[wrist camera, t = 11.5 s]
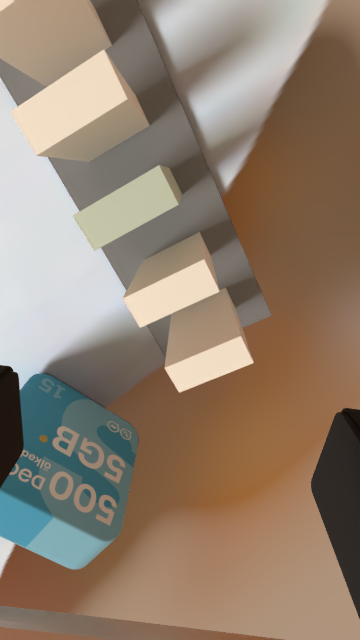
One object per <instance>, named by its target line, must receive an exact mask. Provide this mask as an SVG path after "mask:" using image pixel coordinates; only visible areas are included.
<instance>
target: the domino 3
mask: <svg viewBox="0 0 360 640" xmlns="http://www.w3.org/2000/svg"><path fill="white" fill-rule="evenodd" d="M181 197H182V193H181V191H180V188H179V186H178V184H177V182H176V180H175V178H174V176H173V174H172V172H171V170H170V168H168V167H164V166H160V165H158V166H157V167H155V168H153V169H152V170H150V171H148V172H146V173H145V174H143V175H141V176H140V177H138V178H136V179H134V180H133V181H131V182H129V183H128V184H126V185H124V186H123V187H121V188H119V189H117V190H116V191H114V192H112V193H111V194H109V195H107V196H105V197H104V198H102V199H100V200H99V201H97V202H95V203H93V204H92V205H90V206H88V207H87V208H85V209H83V210H81V211H80V212H78V213H76V214H75V215H73V217H74V219H75V220H76V222H77V224H78V225H79V227H80V228H81V230H82V232H83V233H84V235H85V236H86V238H87V240H88V241H89V243H90V245H91V246H92V248H93V249H94V251H95V250H97V249H99V248H100V247H102V246H104V245H106V244H108V243H110V242H111V241H113V240H115V239H117V238H119V237H121V236H122V235H124V234H126V233H128V232H130V231H131V230H133V229H135V228H137V227H139V226H141V225H142V224H144V223H146V222H148V221H150V220H152V219H153V218H155V217H157V216H159V215H161V214H163V213H164V212H166V211H168V210H170V209H172V208H173V207H175V206H177V205H179V202H180V200H181Z"/></svg>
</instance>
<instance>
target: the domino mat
mask: <svg viewBox="0 0 360 640" xmlns="http://www.w3.org/2000/svg"><path fill="white" fill-rule="evenodd" d="M90 1H91V3H92V4H93V6H94V8H95V10H96V12H97V14H98V16H99V18H100V20H101V23H102V25H103V27H104V29H105V31H106V33H107V35H108V38H109V40H110V42H111V44H112V46H111V47H109V48H108V49H106V50H105V52H106V53H107V55H108V56H109V57H110V59H111V60H112V62H113V63H114V65H115V66H116V68H117V69H118V70H119V72H120V73H121V75H122V76H123V78H124V79H125V81H126V82H127V84H128V85H129V86H130V88H131V89H132V91H133V92H134V94H135V95H136V97H137V99H138V102H139V104H140V106H141V108H142V110H143V112H144V114H145V116H146V119H147V121H148V123H149V125H150V126H149V127H147V128H145V129H144V130H142V131H140V132H138V133H137V134H135V135H133V136H132V137H130V138H128V139H127V140H125V141H123V142H122V143H120V144H118V145H117V146H115V147H113V148H112V149H110V150H108V151H106V152H105V153H103V154H101V155H100V156H98V157H96V158H95V159H93V160H91V161H90V162H86V161H78V160H69V159H61V158H53V157H48V158H49V160H50V162H51V163H52V165H53V167H54V169H55V170H56V172H57V174H58V175H59V177H60V179H61V180H62V182H63V184H64V186H65V187H66V189H67V191H68V192H69V194H70V196H71V197H72V199H73V201H74V202H75V204H76V206H77V208H78V209H79V211H81V210H83V209H85V208H87V207H88V206H90V205H92V204H93V203H95V202H97V201H99V200H100V199H102V198H104V197H105V196H107V195H109V194H111V193H112V192H114V191H116V190H117V189H119V188H121V187H123V186H124V185H126V184H128V183H129V182H131V181H133V180H134V179H136V178H138V177H140V176H141V175H143V174H145V173H146V172H148V171H150V170H152V169H153V168H155V167H157V166H158V165H160V166H164V167H168V168H170V170H171V172H172V174H173V176H174V178H175V180H176V182H177V184H178V186H179V188H180V191H181V193H182V197H181V200H180V202H179V205H177V206H175V207H173V208H172V209H170V210H168V211H166V212H164V213H163V214H161V215H159V216H157V217H155V218H153V219H152V220H150V221H148V222H146V223H144V224H142V225H141V226H139V227H137V228H135V229H133V230H131V231H130V232H128V233H126V234H124V235H122V236H121V237H119V238H117V239H115V240H113V241H111V242H110V243H108V244H106V245H104V246H102V247H101V248H102V250H103V252H104V253H105V255H106V257H107V258H108V260H109V262H110V263H111V265H112V267H113V269H114V270H115V272H116V274H117V275H118V277H119V279H120V280H121V282H122V284H123V285H124V287H125V289H126V291H127V289H128V288H129V286H130V284H131V282H132V280H133V278H134V276H135V275H136V273H137V271H138V269H139V267H140V265H141V263H142V262H143V260H145V259H147V258H149V257H151V256H153V255H155V254H157V253H159V252H161V251H163V250H165V249H167V248H169V247H171V246H173V245H175V244H177V243H179V242H181V241H183V240H185V239H187V238H188V237H190V236H192V235H194V234H196V233H198V232H200V234H201V236H202V238H203V240H204V242H205V245H206V247H207V249H208V251H209V253H210V255H211V259H212V263H213V267H214V271H215V275H216V279H217V283H218V287H219V290H221V289H223V288H225V287H226V289H227V292H228V294H229V296H230V298H231V300H232V302H233V304H234V306H235V309H236V312H237V315H238V318H239V321H240V324H241V327H242V328H243V327H245V326H248V325H250V324H252V323H255V322H257V321H259V320H262V319H264V318H266V317H269V316H271V313H270V311H269V308H268V306H267V304H266V301H265V299H264V297H263V294H262V292H261V290H260V287H259V285H258V283H257V280H256V278H255V276H254V273H253V271H252V269H251V266H250V264H249V262H248V259H247V257H246V254H245V252H244V250H243V248H242V245H241V243H240V240H239V238H238V236H237V233H236V231H235V229H234V227H233V224H232V222H231V219H230V217H229V215H228V212H227V210H226V208H225V205H224V203H223V201H222V198H221V196H220V194H219V191H218V189H217V187H216V184H215V182H214V180H213V177H212V175H211V173H210V170H209V168H208V166H207V163H206V161H205V159H204V156H203V154H202V151H201V149H200V147H199V144H198V142H197V140H196V137H195V135H194V133H193V130H192V128H191V126H190V123H189V121H188V119H187V116H186V114H185V112H184V109H183V107H182V105H181V102H180V100H179V98H178V95H177V93H176V91H175V88H174V86H173V84H172V81H171V79H170V77H169V74H168V72H167V70H166V67H165V65H164V63H163V60H162V58H161V56H160V53H159V51H158V49H157V46H156V44H155V42H154V39H153V37H152V34H151V32H150V30H149V27H148V25H147V23H146V20H145V18H144V16H143V13H142V11H141V9H140V6H139V4H138V2H137V0H90ZM0 77H1V79H2V81H3V82H4V84H5V86H6V87H7V89H8V91H9V92H10V94H11V96H12V97H13V99H14V101H15V103H16V104H17V106H19V105H21V104H22V103H24V102H25V101H27V100H28V99H30V98H31V97H33V96H34V95H36V94H37V93H39V92H40V91H42V90H43V89H45V88H46V86H44V85H43V84H41V83H40V82H38V81H36V80H35V79H33V78H31V77H30V76H28V75H26V74H25V73H23V72H21V71H20V70H18V69H16V68H15V67H13V66H12V65H10V64H8V63H7V62H5V61H3V60H2V59H0ZM170 321H171V314H170V315H167V316H165V317H163V318H161V319H159V320H156V321H154V322H152V323H150V324H148V325H147V326H148V328H149V329H150V331H151V333H152V335H153V336H154V338H155V340H156V341H157V343H158V345H159V346H160V348H161V350H162V351H163V353H164V355H165V357H166V352H167V344H168V337H169V329H170Z"/></svg>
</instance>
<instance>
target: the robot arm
mask: <svg viewBox="0 0 360 640" xmlns="http://www.w3.org/2000/svg"><path fill="white" fill-rule="evenodd" d="M23 447H24V439H23V427H22V415H21V402H20V390H19V378H18V374H17V373H16V372H13V369H12V368H11V367H10V366H2V365H0V488H1V486H2V485H3V483H4V482H5V480H6V478H7V477H8V475H9V474H10V472H11V471H12V469H13V467H14V466H15V464H16V463H17V461H18V460H19V458H20V456H21V454H22V451H23ZM311 488H312V493H313V496H314V499H315V501H316V504H317V506H318V509H319V512H320V514H321V517H322V520H323V523H324V525H325V528H326V531H327V533H328V535H329V538H330V541H331V544H332V546H333V549H334V552H335V554H336V557H337V560H338V562H339V565H340V568H341V570H342V573H343V576H344V578H345V581H346V584H347V586H348V589H349V592H350V594H351V597H352V600H353V602H354V605H355V607H356V610H357V613H358V616H359V618H360V410H357V409H349V408H345V409H343V410H342V411H341V412H338V413H337V414H336V415H335V417H334V420H333V423H332V426H331V428H330V431H329V433H328V436H327V439H326V442H325V445H324V447H323V450H322V453H321V455H320V458H319V461H318V464H317V466H316V469H315V472H314V474H313V477H312V481H311ZM0 640H281V639H274V638H266V637H258V636H249V635H242V634H234V633H226V632H217V631H209V630H201V629H193V628H184V627H176V626H168V625H160V624H151V623H143V622H135V621H126V620H118V619H109V618H101V617H92V616H84V615H75V614H67V613H58V612H49V611H41V610H32V609H22V608H13V607H5V606H0Z"/></svg>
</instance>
